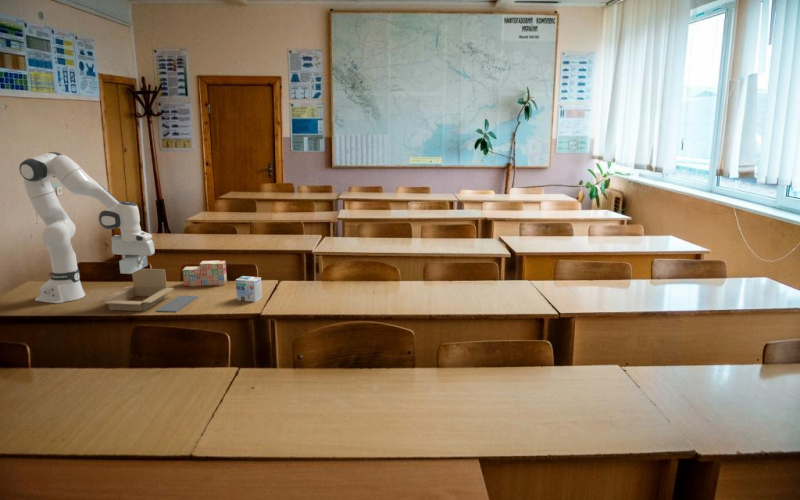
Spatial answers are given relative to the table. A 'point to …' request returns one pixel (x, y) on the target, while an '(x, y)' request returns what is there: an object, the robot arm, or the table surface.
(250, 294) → the light bulb box
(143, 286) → the carton
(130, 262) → the box
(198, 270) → the stack of blocks
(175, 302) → the mat
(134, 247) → the robot arm
